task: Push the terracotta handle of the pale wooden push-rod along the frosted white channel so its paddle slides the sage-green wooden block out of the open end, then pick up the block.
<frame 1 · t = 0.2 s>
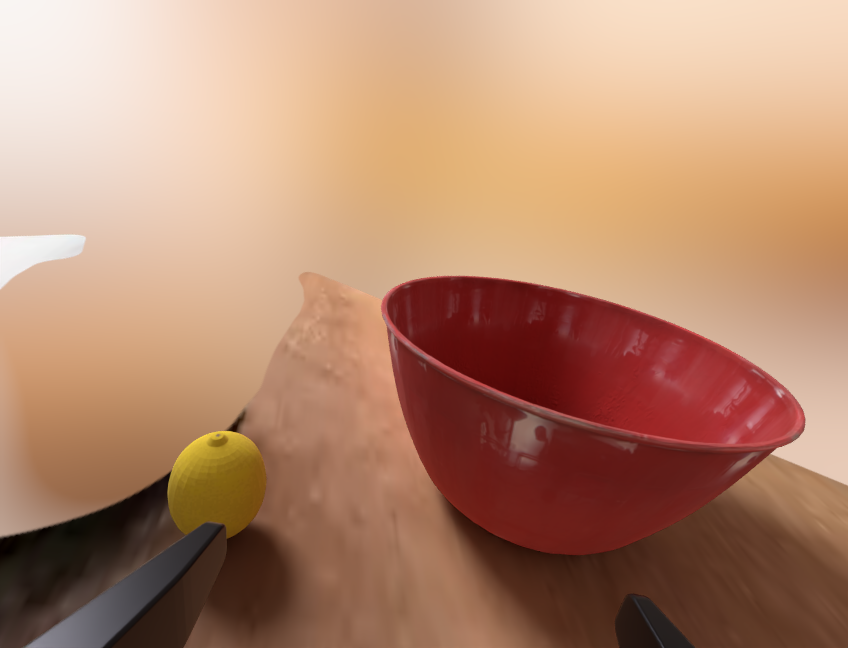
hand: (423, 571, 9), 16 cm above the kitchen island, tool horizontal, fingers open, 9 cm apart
lemon: (221, 533, 26), on the kitchen island
mixing bowl: (517, 481, 36), on the kitchen island
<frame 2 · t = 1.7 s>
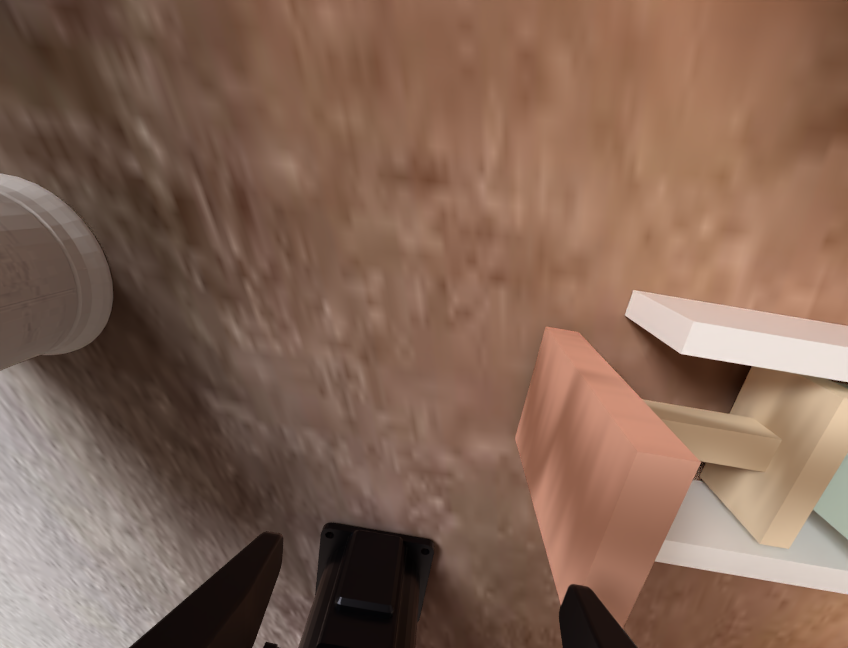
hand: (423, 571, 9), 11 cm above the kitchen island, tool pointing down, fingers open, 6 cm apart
channel: (770, 421, 19), on the kitchen island
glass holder: (15, 211, 18), on the kitchen island
push rod: (698, 466, 14), point 5 cm above the kitchen island, slide at 0.0 cm
block: (834, 431, 19), on the kitchen island
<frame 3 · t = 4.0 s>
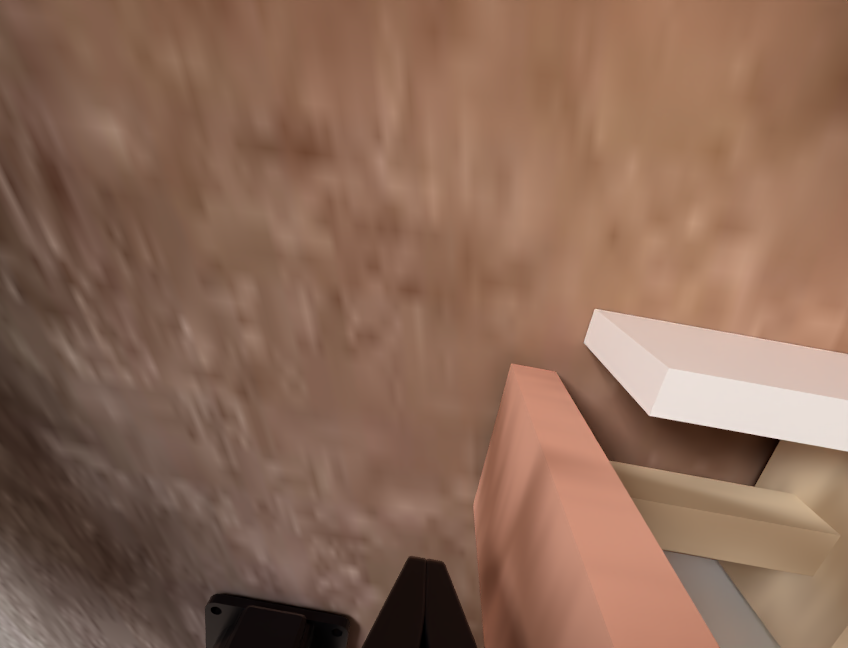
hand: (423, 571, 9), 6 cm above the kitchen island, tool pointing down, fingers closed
channel: (779, 483, 14), on the kitchen island
push rod: (723, 587, 10), point 5 cm above the kitchen island, slide at 1.2 cm, touching gripper
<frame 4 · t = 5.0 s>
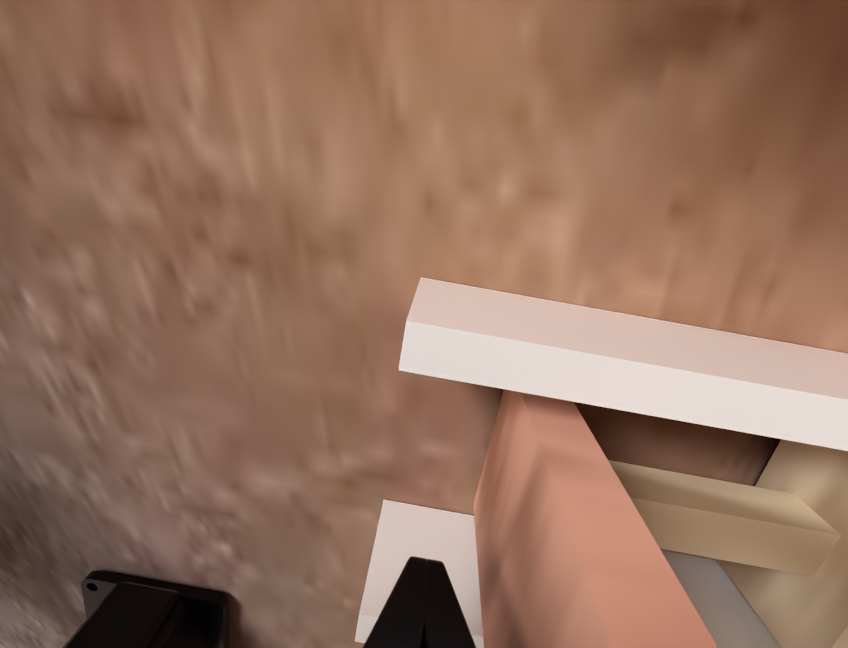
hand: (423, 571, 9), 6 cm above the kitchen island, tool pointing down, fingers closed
channel: (625, 455, 14), on the kitchen island
push rod: (723, 587, 10), point 5 cm above the kitchen island, slide at 6.9 cm, touching block, gripper
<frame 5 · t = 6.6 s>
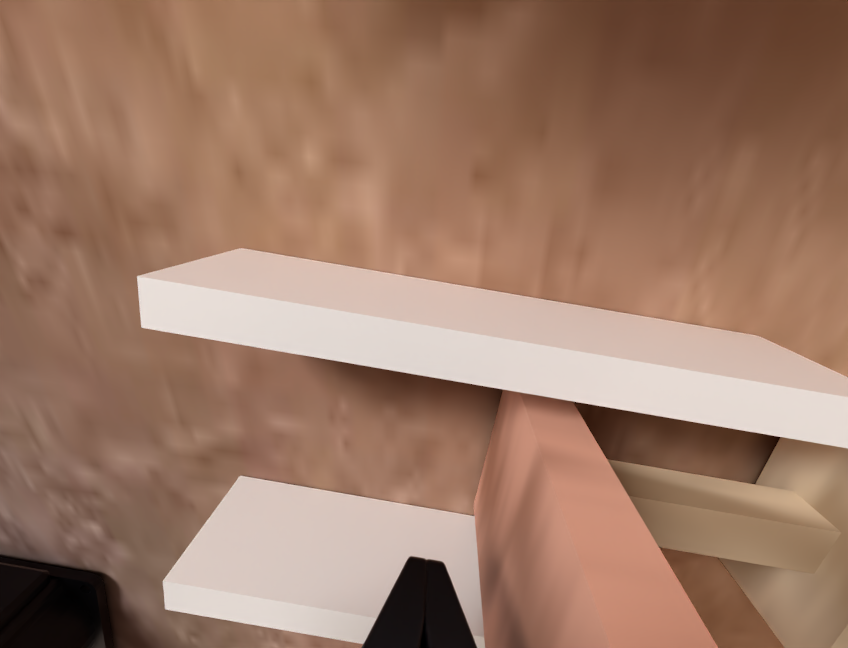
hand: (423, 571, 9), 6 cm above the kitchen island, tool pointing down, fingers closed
channel: (467, 427, 14), on the kitchen island
push rod: (723, 585, 10), point 5 cm above the kitchen island, slide at 12.8 cm, touching gripper
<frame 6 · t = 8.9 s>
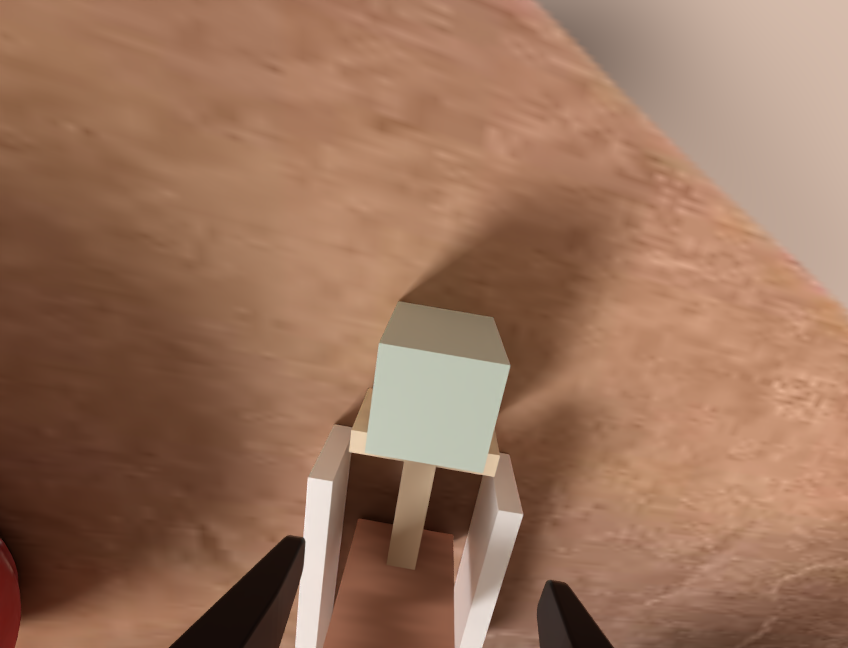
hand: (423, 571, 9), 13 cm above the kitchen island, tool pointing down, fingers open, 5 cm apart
channel: (401, 547, 26), on the kitchen island
push rod: (407, 541, 19), point 5 cm above the kitchen island, slide at 12.8 cm
block: (437, 352, 21), on the kitchen island
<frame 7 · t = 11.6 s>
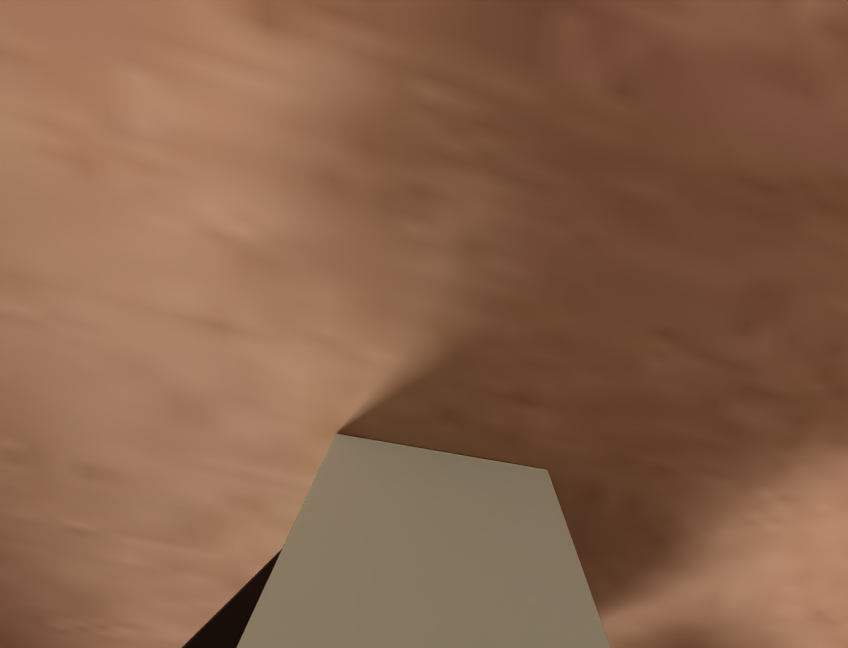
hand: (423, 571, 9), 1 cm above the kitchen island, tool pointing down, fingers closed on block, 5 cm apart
block: (424, 532, 10), on the kitchen island, touching gripper
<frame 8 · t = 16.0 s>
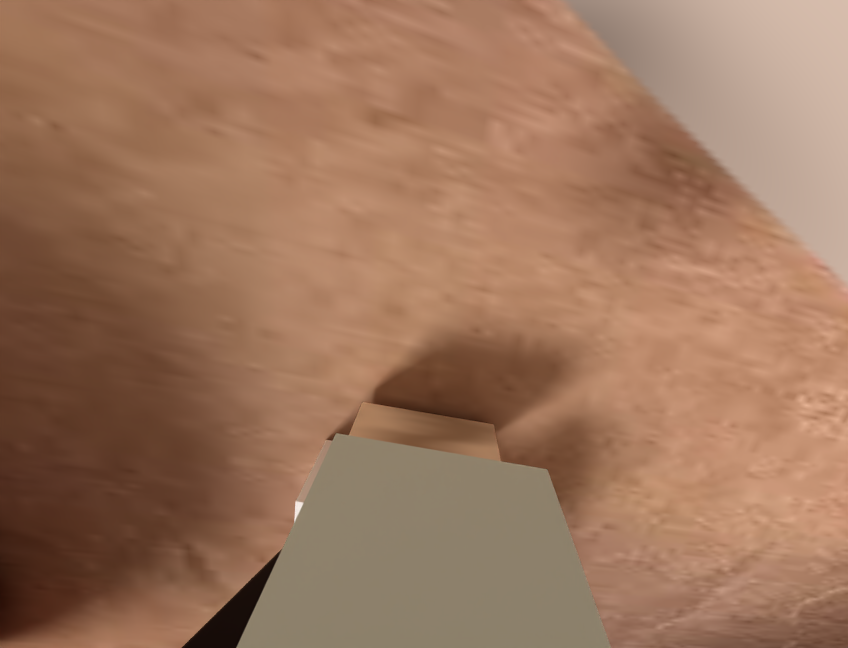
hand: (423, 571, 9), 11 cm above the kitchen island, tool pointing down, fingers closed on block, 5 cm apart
channel: (398, 568, 24), on the kitchen island
push rod: (403, 570, 17), point 5 cm above the kitchen island, slide at 12.8 cm
block: (424, 532, 10), point 10 cm above the kitchen island, touching gripper
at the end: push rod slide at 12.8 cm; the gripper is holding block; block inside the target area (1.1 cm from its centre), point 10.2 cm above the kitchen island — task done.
